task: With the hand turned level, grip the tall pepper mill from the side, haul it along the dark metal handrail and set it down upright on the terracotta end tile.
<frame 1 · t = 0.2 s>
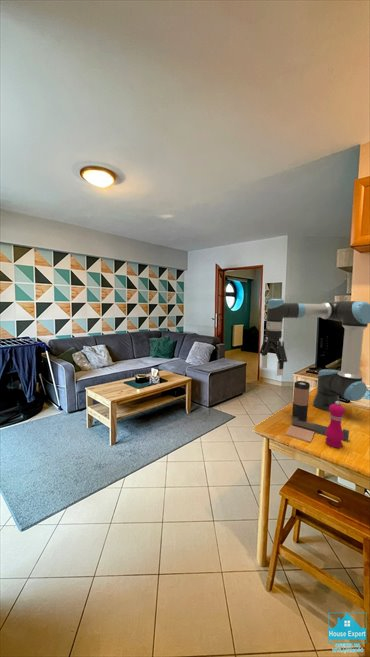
hand: (271, 371, 130), 28 cm above the table, tool pointing down, fingers open, 13 cm apart
handrail: (318, 432, 125), on the table
end tile: (300, 433, 123), on the table
pepper mill: (333, 444, 115), on the table
travel mug: (299, 418, 140), on the table
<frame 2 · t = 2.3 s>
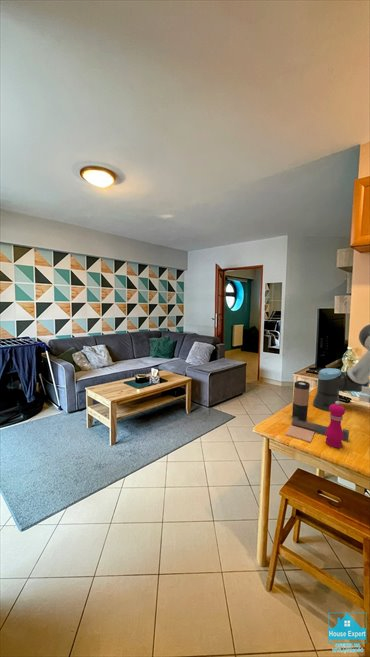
hand: (360, 393, 108), 26 cm above the table, tool horizontal, fingers open, 13 cm apart
nothing on the table moved.
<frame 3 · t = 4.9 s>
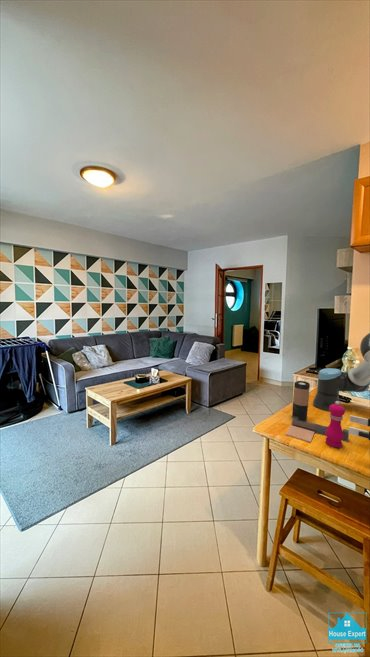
hand: (349, 423, 111), 11 cm above the table, tool horizontal, fingers open, 13 cm apart
nothing on the table moved.
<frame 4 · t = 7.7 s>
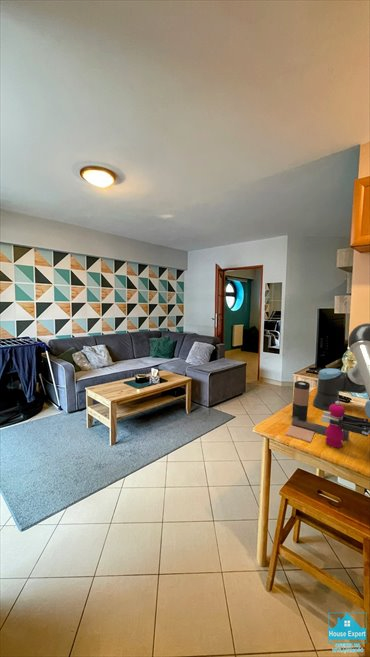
hand: (322, 416, 117), 12 cm above the table, tool horizontal, fingers closed on pepper mill, 5 cm apart
pepper mill: (333, 444, 115), on the table, touching gripper
everything else where it was.
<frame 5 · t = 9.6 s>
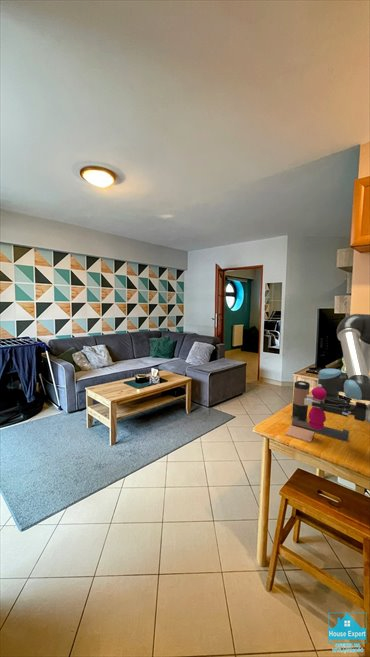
hand: (305, 399, 120), 18 cm above the table, tool horizontal, fingers closed on pepper mill, 5 cm apart
pepper mill: (316, 426, 118), point 6 cm above the table, touching gripper
everything else where it was.
when the fingers open (13 cm above the table, at t = 11.8 s): pepper mill stays where it is, resting on end tile.
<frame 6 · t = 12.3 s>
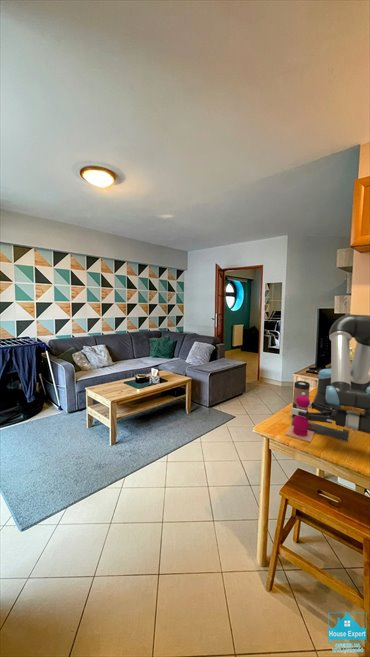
hand: (294, 406, 124), 13 cm above the table, tool horizontal, fingers open, 12 cm apart
pepper mill: (300, 433, 123), resting on end tile
everything else where it was.
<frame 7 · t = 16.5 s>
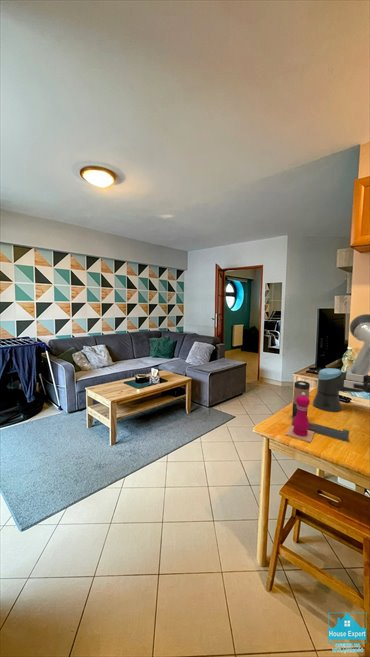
hand: (344, 379, 112), 30 cm above the table, tool horizontal, fingers open, 13 cm apart
nothing on the table moved.
at the end: pepper mill inside the target area on the end tile (0.0 cm from its centre), point 0.4 cm above the end tile's base; pepper mill tilted 0°; the gripper is holding nothing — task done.
